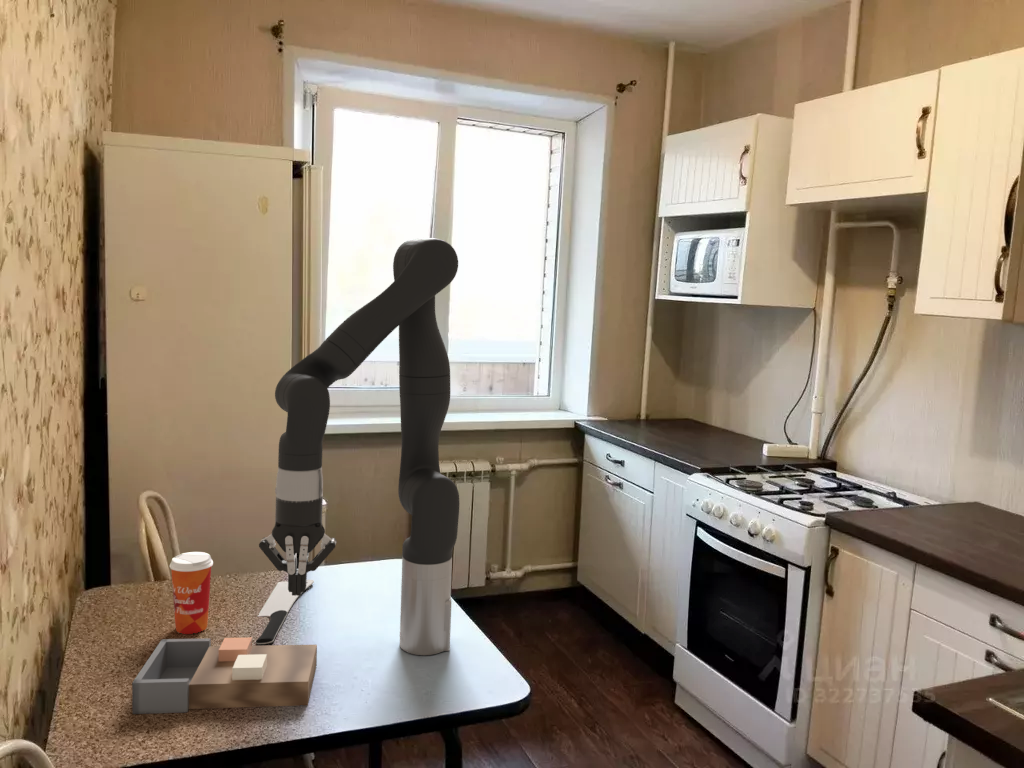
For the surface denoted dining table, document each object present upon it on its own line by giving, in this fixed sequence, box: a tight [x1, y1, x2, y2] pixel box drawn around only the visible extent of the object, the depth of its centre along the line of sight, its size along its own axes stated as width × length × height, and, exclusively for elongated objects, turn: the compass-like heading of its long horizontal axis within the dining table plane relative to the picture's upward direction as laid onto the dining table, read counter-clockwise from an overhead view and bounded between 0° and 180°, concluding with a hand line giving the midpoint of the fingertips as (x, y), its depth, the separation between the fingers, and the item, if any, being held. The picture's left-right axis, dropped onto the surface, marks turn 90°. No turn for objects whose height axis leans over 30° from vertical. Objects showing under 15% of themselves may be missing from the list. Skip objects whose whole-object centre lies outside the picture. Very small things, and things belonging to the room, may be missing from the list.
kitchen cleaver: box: [255, 579, 315, 646], centre depth 159 cm, size 31×2×10 cm
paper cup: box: [169, 551, 214, 635], centre depth 149 cm, size 8×8×14 cm
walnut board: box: [189, 644, 318, 710], centre depth 129 cm, size 18×13×4 cm
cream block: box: [232, 654, 267, 680], centre depth 126 cm, size 4×4×2 cm
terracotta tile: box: [219, 636, 253, 661], centre depth 131 cm, size 4×4×2 cm
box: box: [131, 637, 212, 715], centre depth 127 cm, size 8×15×5 cm, turn 8°
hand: (296, 593), depth 132 cm, fingers closed
